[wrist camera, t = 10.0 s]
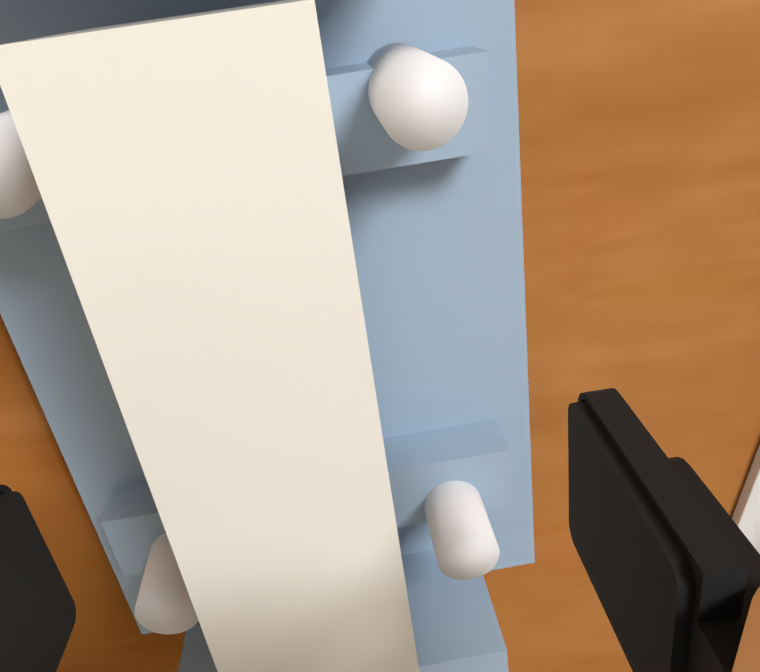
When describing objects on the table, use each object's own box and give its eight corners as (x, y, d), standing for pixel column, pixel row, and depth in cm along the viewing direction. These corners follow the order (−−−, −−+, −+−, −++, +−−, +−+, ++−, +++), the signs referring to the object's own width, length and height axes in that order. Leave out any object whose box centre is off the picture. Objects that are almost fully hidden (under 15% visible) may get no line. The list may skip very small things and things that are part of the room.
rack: (-141, -82, 14) (-364, -118, 9) (491, -173, 14) (585, -252, 9) (149, 604, 23) (111, 759, 18) (523, 536, 23) (579, 670, 19)
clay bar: (95, 27, 13) (-14, 46, 8) (308, -4, 13) (314, -2, 8) (263, 592, 20) (253, 768, 15) (399, 568, 20) (429, 735, 15)
